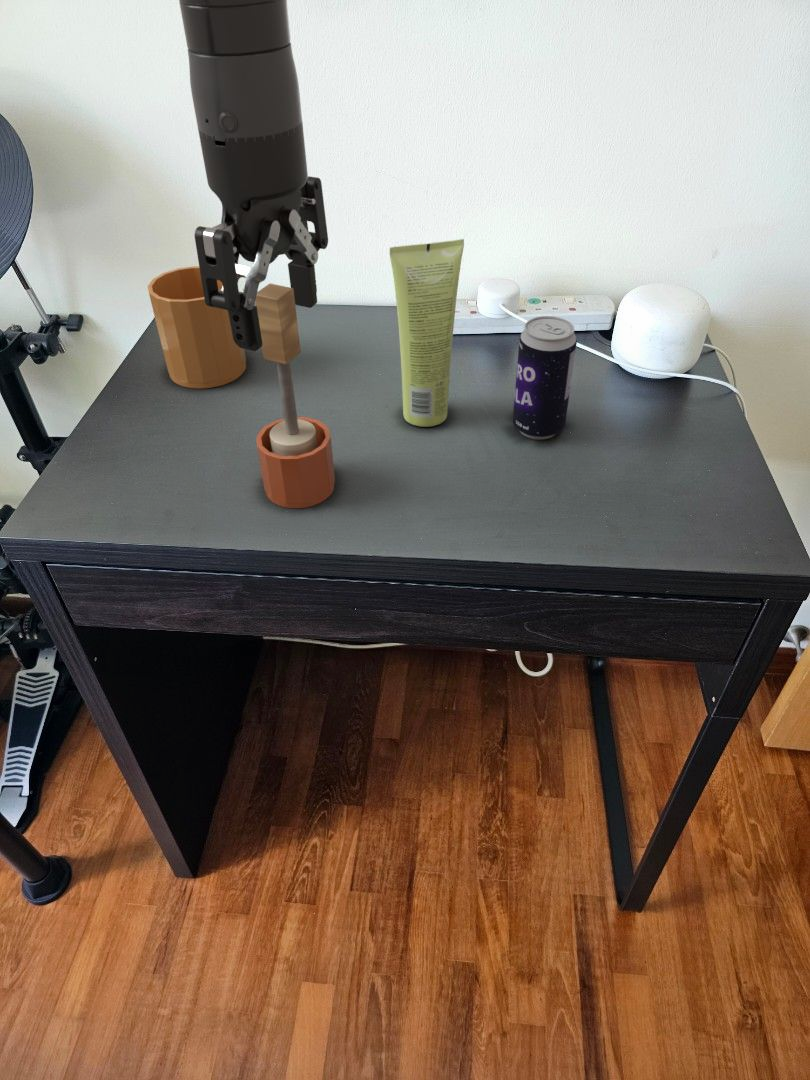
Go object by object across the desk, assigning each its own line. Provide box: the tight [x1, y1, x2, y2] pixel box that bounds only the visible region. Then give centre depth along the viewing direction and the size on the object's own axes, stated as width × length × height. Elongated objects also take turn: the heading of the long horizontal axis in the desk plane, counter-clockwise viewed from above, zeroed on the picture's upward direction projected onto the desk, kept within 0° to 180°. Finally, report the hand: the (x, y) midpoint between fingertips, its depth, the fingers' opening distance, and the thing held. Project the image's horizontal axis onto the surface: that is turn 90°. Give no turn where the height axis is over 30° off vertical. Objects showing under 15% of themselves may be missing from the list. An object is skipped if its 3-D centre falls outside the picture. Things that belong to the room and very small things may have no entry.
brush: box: [254, 283, 318, 456], centre depth 72 cm, size 4×4×20 cm
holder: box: [255, 416, 336, 509], centre depth 77 cm, size 7×7×6 cm
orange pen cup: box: [147, 265, 247, 390], centre depth 94 cm, size 9×9×11 cm
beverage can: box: [512, 315, 578, 440], centre depth 82 cm, size 6×6×12 cm
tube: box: [389, 238, 465, 428], centre depth 82 cm, size 6×5×20 cm
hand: (278, 325), depth 68 cm, fingers open, 8 cm apart
